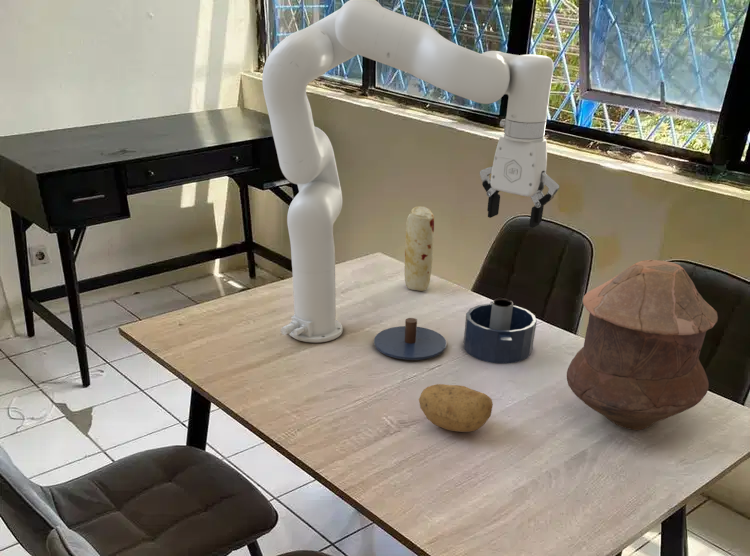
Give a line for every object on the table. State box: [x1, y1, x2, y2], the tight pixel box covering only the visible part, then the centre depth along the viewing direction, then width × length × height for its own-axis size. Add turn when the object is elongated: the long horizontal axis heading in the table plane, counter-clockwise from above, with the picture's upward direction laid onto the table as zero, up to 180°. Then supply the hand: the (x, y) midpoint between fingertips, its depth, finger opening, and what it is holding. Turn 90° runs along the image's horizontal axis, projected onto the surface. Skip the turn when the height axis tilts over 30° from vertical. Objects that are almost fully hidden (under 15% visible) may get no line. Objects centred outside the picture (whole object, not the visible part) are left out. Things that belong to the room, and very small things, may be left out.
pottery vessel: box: [566, 259, 719, 431], centre depth 142 cm, size 26×26×30 cm
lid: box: [373, 317, 447, 361], centre depth 173 cm, size 16×16×6 cm
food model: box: [404, 205, 435, 292], centre depth 197 cm, size 10×7×20 cm
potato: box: [418, 383, 494, 433], centre depth 144 cm, size 10×14×8 cm
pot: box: [463, 301, 537, 365], centre depth 172 cm, size 15×21×8 cm
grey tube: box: [489, 298, 514, 330], centre depth 171 cm, size 4×4×10 cm
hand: (513, 220), depth 158 cm, fingers open, 9 cm apart
